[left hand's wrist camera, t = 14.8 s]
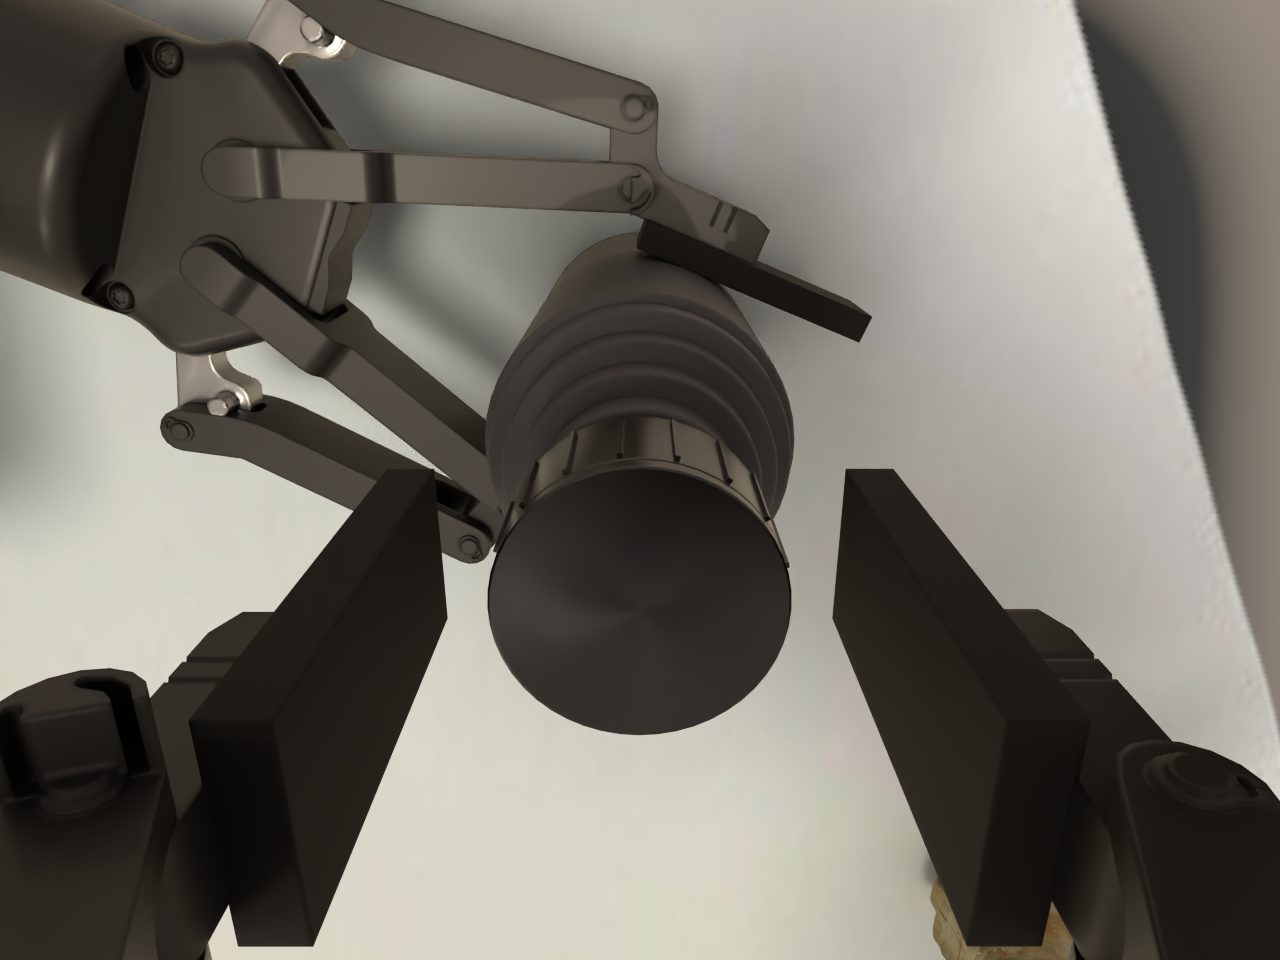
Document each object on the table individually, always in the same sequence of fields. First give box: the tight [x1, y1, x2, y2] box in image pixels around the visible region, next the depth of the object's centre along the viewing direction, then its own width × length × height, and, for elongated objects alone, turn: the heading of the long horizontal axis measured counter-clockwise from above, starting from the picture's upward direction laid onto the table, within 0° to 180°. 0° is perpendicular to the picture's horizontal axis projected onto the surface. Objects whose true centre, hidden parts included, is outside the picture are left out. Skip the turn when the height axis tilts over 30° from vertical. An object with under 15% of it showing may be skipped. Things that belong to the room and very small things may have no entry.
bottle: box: [485, 233, 794, 519], centre depth 22 cm, size 7×7×20 cm
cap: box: [488, 416, 791, 735], centre depth 13 cm, size 4×4×2 cm
